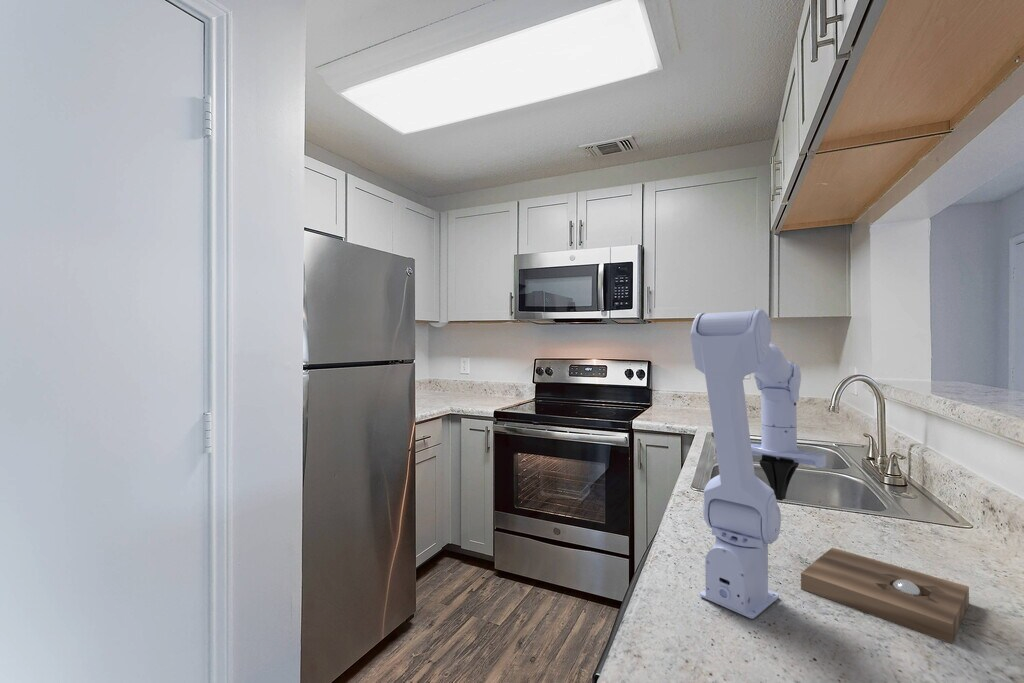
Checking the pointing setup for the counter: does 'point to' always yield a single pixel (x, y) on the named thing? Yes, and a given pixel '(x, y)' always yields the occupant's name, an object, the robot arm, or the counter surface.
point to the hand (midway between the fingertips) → (779, 498)
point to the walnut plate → (888, 592)
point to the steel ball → (907, 587)
